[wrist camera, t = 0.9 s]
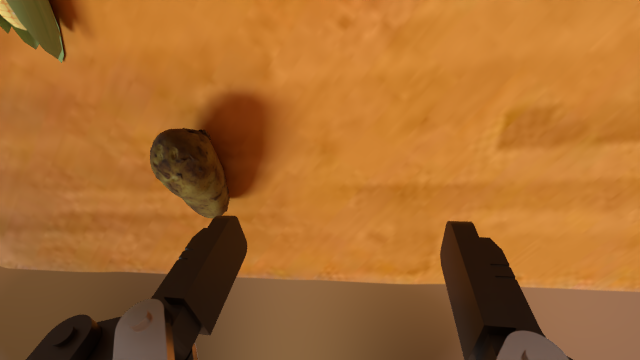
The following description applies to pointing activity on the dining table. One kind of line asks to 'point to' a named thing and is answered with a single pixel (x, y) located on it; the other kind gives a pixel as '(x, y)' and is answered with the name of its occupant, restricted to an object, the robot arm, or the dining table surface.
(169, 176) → the potato
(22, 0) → the edible corn
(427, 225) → the dining table surface
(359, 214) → the dining table surface
